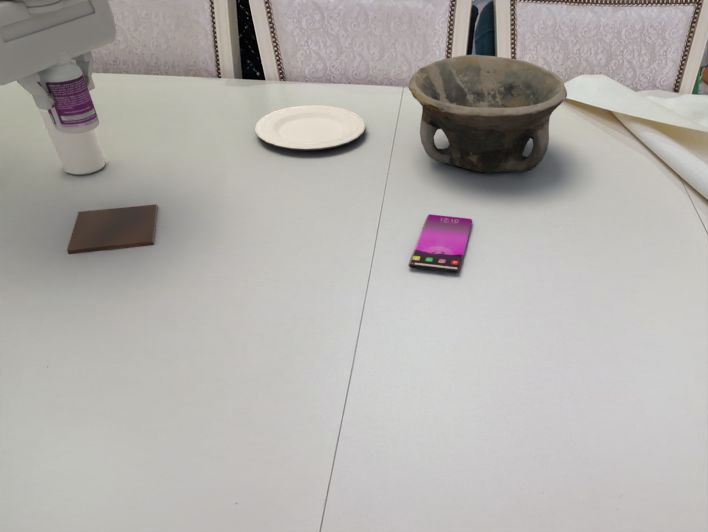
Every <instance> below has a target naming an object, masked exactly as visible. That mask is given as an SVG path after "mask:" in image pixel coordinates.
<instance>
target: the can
mask: <svg viewBox="0 0 708 532" xmlns="http://www.w3.org/2000/svg"><path fill="white" fill-rule="evenodd" d="M38 111H39V114H40V116H41V119H42V121H43V123H44V126H45V129H46V130H47V131H46V132H47V133H48V135H49V138H50V140H51V143H52V145H53V148H54V150H55V153H56V154H57V157H58V159H59V162H60V164H61V166H62V169H63V171H64V172H66V173H67V174H69V175H73V176H87V175H91V174H96V173H98V172H100V171H102V170H103V169H104V168H105V165H106V160H105V159H106V158H105V156H104V154H103V151H102V148H101V145H100V142H99V139H98V137H97V135H96V132H95V129H93V130H91V131H87V132H84V133H76V134H66V133H62V132H60V131H58V130H57V129H56V128H55V127H54V125H53V122H52V120H51V118H50V115H49V113H48V110H43V109H39V108H38Z"/></svg>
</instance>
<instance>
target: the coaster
mask: <svg viewBox="0 0 708 532" xmlns="http://www.w3.org/2000/svg"><path fill="white" fill-rule="evenodd" d="M157 217H158V204H156V203H155V204H146V205H145V204H144V205H136V206H135V205H134V206H125V207H124V206H123V207H115V208H113V207H112V208H104V209H93V210H84V211H78V212H77V215H76V219H75V222H74V226H73V228H72V232H71V236H70V239H69V243H68V246H67V249H66V252H67V254H69V255H70V254H71V255H72V254H79V253H87V252H97V251H105V250H106V251H107V250H115V249H125V248H132V247H133V248H134V247H143V246H151V245H152V246H153V245H154V242H155V236H156V235H155V234H156V225H157Z"/></svg>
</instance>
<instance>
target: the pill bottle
mask: <svg viewBox="0 0 708 532" xmlns="http://www.w3.org/2000/svg"><path fill="white" fill-rule="evenodd" d="M59 56H60V59H59V63H58V64H57V65H54V66H52V67H49V68H47V69H44V70H41V71H39V72H38V75H39V77H40V81H39V82H37V83H38V84H39V85H40V86H41V87H42V88H43V89H44V91H46V92H53V94H54V97H55V101H56V102H57V106H55V107H53V108H51V109H49V110H48V113H49V115H50V118H51V120H52V122H53V125H54V127H55V128H56V129H57V130H58V131H60V132H62V133H66V134H76V133H84V132H87V131H91V130H93V129H94V130H95V129H96V128H97V127H98V126H99V125H100V119H99V117H98V113H97V110H96V108H95V104H94V102H93V99H92V96H91V93H90V91H89V90H88V87H87V85H86V82H85V79H84V76H83V73H82V71H81V69H80V68H79V67H78V66H77V65H76V63H74V62H72V59H70V57H69V55H68V54H67V52H66V50H63V51H60V52H59Z"/></svg>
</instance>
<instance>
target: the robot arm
mask: <svg viewBox="0 0 708 532" xmlns="http://www.w3.org/2000/svg"><path fill="white" fill-rule="evenodd" d="M116 22H117V21H116V18H115V15H114V12H113V9H112V6H111V3H110V0H0V86H1V87H2V86H6V85H8V84H12V83H13V82H17V84H18V85H20V86H21V87H22V89H24V90H25V91H27V93H29V95H31V97H32V99H33V101H34V103H35V106H36V107H37V108H38V110H39V109H43V110H49V109H51V108H53V107H55V106H57V102H56V101H55V97H54V94H53V92H46V91H44V89H43V88H42V87H41V86H40V85H39V84H38V83H37V82H39V81H40V77H39V75H38V72H39V71H41V70H44V69H47V68H49V67H52V66H54V65H57V64H58V63H59V59H60V56H59V52H60V51H63V50H66V52H67V54H68V55H69V57H70V59H71V61H72V60H73V61H75V64H76V65H77V66H78V67H79V68H80V69H81V71H82V73H83V76H84V79H85V82H86V85H87V87H88V90H89V92H91V91H93V90H94V89H96V86H95V82H94V80H93V77H92V75H93V68H94V61H95V60H94V56H93V54H92V53H93V51H94V50H98V49H100V48H103V47H105V46H107V45H110V44H113V43H115V42H116V40H117V36H118V27H117V23H116Z"/></svg>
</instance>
